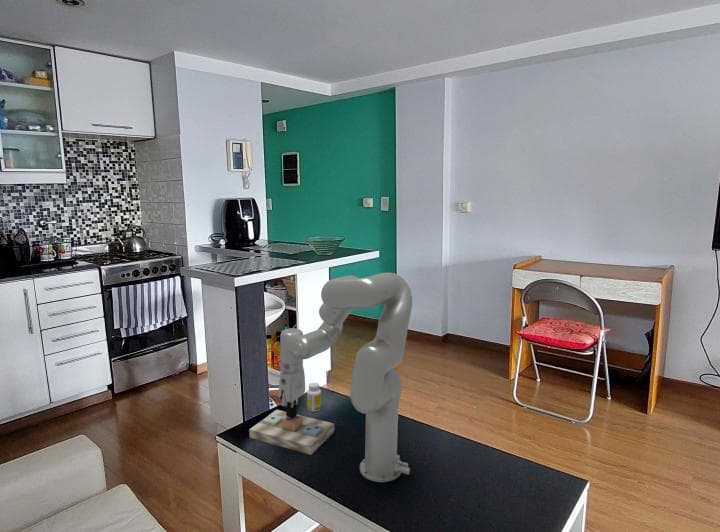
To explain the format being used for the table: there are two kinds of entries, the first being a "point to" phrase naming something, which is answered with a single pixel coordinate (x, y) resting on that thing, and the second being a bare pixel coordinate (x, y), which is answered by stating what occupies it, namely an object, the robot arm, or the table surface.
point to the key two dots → (312, 430)
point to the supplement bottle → (314, 397)
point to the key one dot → (273, 420)
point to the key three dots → (292, 423)
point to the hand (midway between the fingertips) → (291, 416)
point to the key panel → (292, 434)
